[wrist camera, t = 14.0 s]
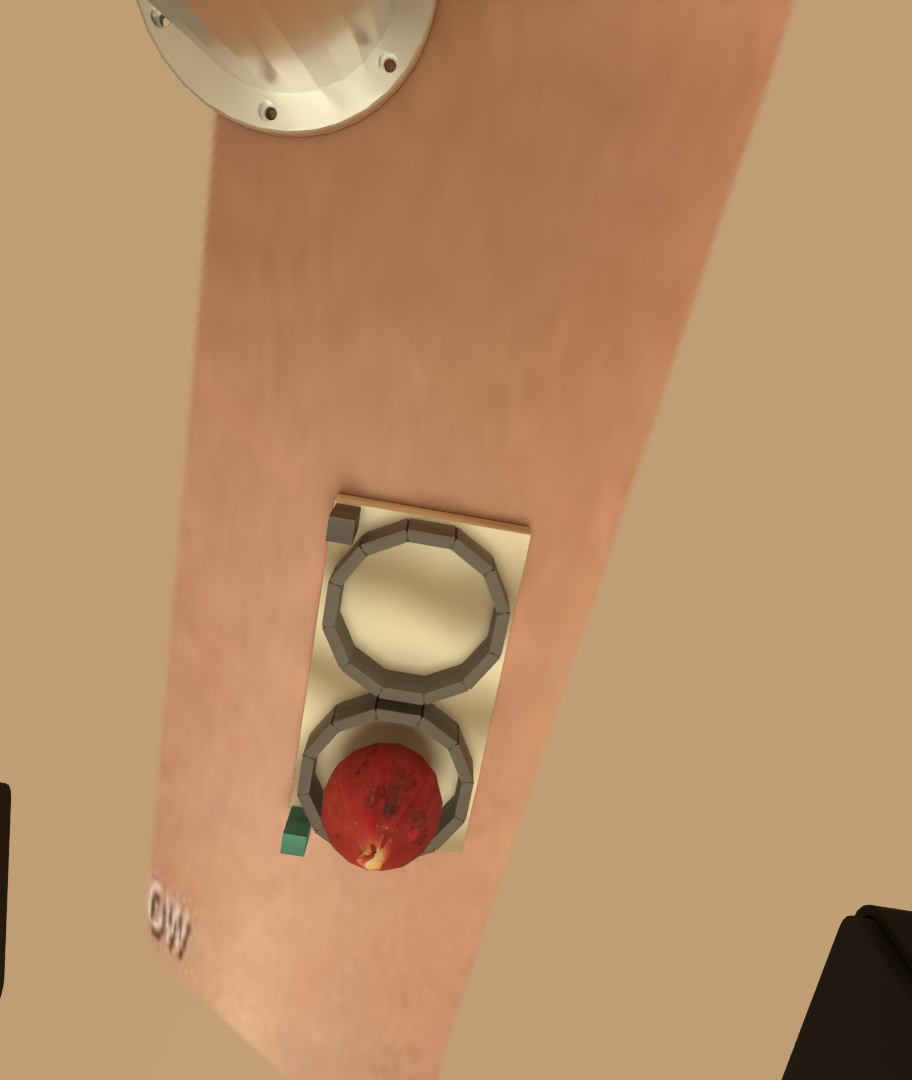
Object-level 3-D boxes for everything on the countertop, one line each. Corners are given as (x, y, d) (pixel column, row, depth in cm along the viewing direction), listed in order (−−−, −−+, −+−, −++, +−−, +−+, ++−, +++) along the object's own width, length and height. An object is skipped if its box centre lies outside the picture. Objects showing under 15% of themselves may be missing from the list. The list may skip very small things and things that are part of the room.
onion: (363, 696, 44) (344, 783, 36) (462, 743, 44) (463, 839, 37) (314, 783, 45) (285, 885, 38) (411, 827, 46) (402, 936, 38)
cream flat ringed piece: (339, 493, 42) (327, 513, 38) (528, 526, 43) (535, 550, 39) (292, 809, 47) (278, 854, 44) (461, 836, 48) (462, 882, 44)
